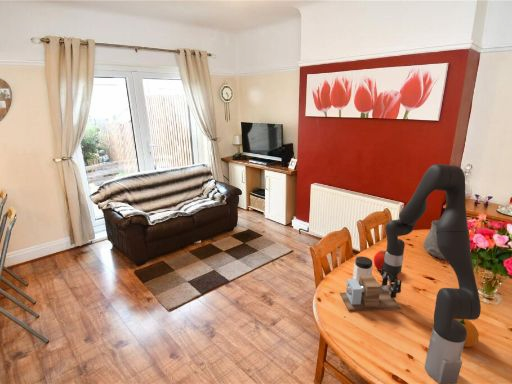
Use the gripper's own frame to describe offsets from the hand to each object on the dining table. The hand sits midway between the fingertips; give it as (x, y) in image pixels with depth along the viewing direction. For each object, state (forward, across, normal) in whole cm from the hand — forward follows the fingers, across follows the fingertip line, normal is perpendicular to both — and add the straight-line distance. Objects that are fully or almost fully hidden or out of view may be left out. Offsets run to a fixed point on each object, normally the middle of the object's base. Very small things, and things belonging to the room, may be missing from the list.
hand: (388, 291), depth 138 cm
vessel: (+6, +41, -52) cm, 67 cm away
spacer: (+3, 0, +16) cm, 17 cm away
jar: (+6, +17, +6) cm, 19 cm away
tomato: (+6, +27, -10) cm, 29 cm away
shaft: (+1, 0, +8) cm, 8 cm away
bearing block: (+5, 0, +10) cm, 11 cm away
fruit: (+5, -24, -18) cm, 30 cm away
